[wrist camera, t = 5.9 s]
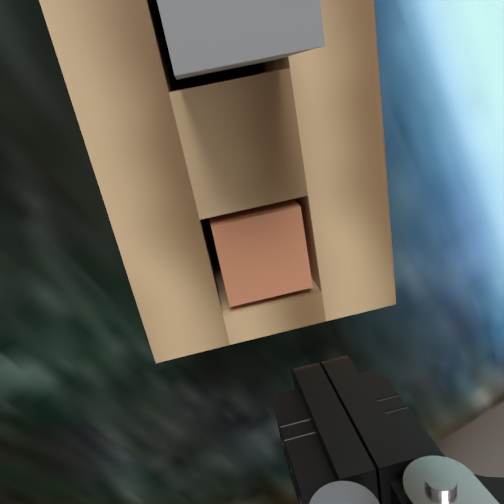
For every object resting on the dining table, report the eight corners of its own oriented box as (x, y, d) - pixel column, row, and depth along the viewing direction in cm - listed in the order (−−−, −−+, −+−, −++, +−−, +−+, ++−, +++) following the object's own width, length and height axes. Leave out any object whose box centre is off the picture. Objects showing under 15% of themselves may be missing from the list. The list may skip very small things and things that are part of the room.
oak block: (163, 278, 30) (155, 363, 21) (76, -22, 24) (9, -92, 14) (332, 239, 31) (396, 304, 22) (294, -61, 24) (362, -151, 15)
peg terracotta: (216, 248, 28) (229, 307, 21) (202, 187, 26) (211, 226, 19) (278, 234, 28) (312, 287, 21) (267, 173, 27) (300, 206, 19)
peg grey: (177, 79, 19) (174, 75, 11) (151, -29, 17) (129, -116, 10) (268, 61, 19) (325, 45, 12) (251, -47, 18) (303, -144, 10)
